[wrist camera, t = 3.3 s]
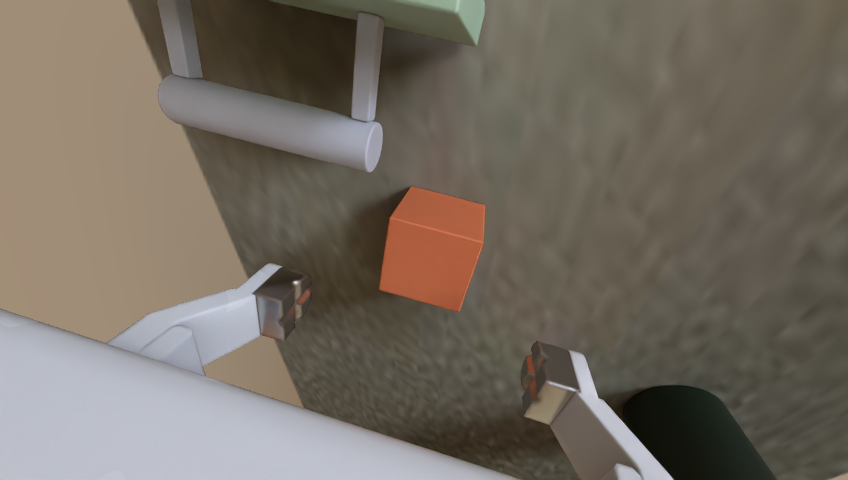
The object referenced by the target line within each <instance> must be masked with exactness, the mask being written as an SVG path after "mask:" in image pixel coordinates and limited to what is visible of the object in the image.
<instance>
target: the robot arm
mask: <svg viewBox="0 0 848 480" xmlns="http://www.w3.org/2000/svg"><path fill="white" fill-rule="evenodd" d="M310 285H311V276H310V275H308V274H305V273H302V272H299V271H296V270H292V269H289V268H286V267H282V266H279V265H276V264H273V263H269V264H266V265H265V266H264V267H263V268H261V269H260V270H259V271H258V272H257V273H256V274H254V275H253V276H252V277H251V278H250V279H248V280H247V281H246V282H245V283H244V284H242V285H241V286H240V287H239V288H238V289H233V288H232V289H228V290H225V291H222V292H218V293H215V294H212V295H209V296H205V297H202V298H199V299H195V300H192V301H189V302H185V303H182V304H179V305H175V306H172V307H169V308H166V309H162V310H159V311H155V312H152V313H149V314H147V315H146V316H144V317H143V318H141V319H140V320H138V321H137V322H136V323H134V324H133V325H131V326H130V327H128V328H127V329H126V330H124V331H123V332H121V333H120V334H118V335H117V336H115V337H114V338H113V339H111V340H110V341H108V342H107V343H103V342H100V341H97V340H94V339H91V338H88V337H85V336H82V335H78V334H76V333H72V332H70V331H67V330H63V329H61V328H57V327H54V326H51V325H48V324H45V323H42V322H39V321H36V320H33V319H30V318H27V317H24V316H21V315H18V314H15V313H12V312H9V311H6V310H3V309H0V480H521V479H518V478H515V477H512V476H509V475H506V474H503V473H500V472H497V471H494V470H491V469H488V468H485V467H482V466H479V465H476V464H473V463H470V462H466V461H463V460H460V459H457V458H454V457H451V456H448V455H445V454H442V453H439V452H436V451H433V450H430V449H427V448H424V447H421V446H417V445H414V444H411V443H408V442H405V441H402V440H399V439H396V438H393V437H390V436H387V435H384V434H381V433H378V432H375V431H372V430H369V429H366V428H362V427H359V426H356V425H353V424H350V423H347V422H344V421H341V420H338V419H335V418H332V417H329V416H326V415H323V414H320V413H317V412H314V411H311V410H307V409H304V408H301V407H298V406H295V405H292V404H289V403H286V402H283V401H280V400H277V399H274V398H271V397H268V396H265V395H262V394H259V393H256V392H252V391H250V390H246V389H243V388H240V387H237V386H234V385H231V384H228V383H225V382H222V381H219V380H216V379H213V378H209V377H207V376H206V375H205V372H204V369H203V366H205V365H207V364H209V363H211V362H213V361H215V360H217V359H218V358H220V357H222V356H224V355H226V354H228V353H230V352H232V351H234V350H235V349H237V348H239V347H241V346H243V345H245V344H247V343H248V342H250V341H252V340H254V339H256V338H258V337H259V336H260V335H263V336H267V337H270V338H274V339H277V340H281V341H284V340H285V339H286V338H287V337H288V335H289V334H290V333H291V332H292V330H293V329H294V328H295V321H296V320H299V319H301V318H303V316H304V315H305V313H306V312H307V310H308V308H309V306H310V302H311V292H310V290H309V289H308V287H309V286H310ZM531 352H532V355H529V356H527V357H526V358H525V360H524V362H523V365H522V369H521V385H522V387H523V388H524V389H525V393H524V395H523V396H522V400H523V410H524V416H525V417H528V418H531V419H534V420H537V421H540V422H543V423H546V424H548V425H550V428H551V429H552V431H553V433H554V435H555V436H556V438H557V440H558V442H559V443H560V445H561V447H562V449H563V450H564V452H565V454H566V456H567V457H568V459H569V461H570V463H571V464H572V466H573V468H574V470H575V471H576V473H577V475H578V477H579V478H580V480H674V479H673V478H672V477H671V476H670V475H669V473H668V472H667V471H666V470H665V469H664V468H663V467H662V466H661V464H660V463H659V462H658V461H657V460H656V459H655V458H654V457H653V455H652V454H651V453H650V452H649V451H648V450H647V449H646V448H645V446H644V445H643V444H642V443H641V442H640V441H639V440H638V439H637V437H636V436H635V435H634V434H633V433H632V432H631V431H630V430H629V428H628V427H627V426H626V425H625V424H624V423H623V422H622V420H621V419H620V418H619V417H618V416H617V415H616V414H615V413H614V411H613V410H612V409H611V408H610V407H609V406H608V405H607V404H606V402H605V401H604V400H601V399H599V398H598V395H597V392H596V389H595V386H594V383H593V380H592V377H591V374H590V371H589V368H588V365H587V362H586V359H585V356H584V355H583V354H582V353H578V352H575V351H571V350H566V349H563V348H560V347H556V346H553V345H549V344H546V343H542V342H538V341H536V342H535V343H534V344H533V346H532V348H531Z"/></svg>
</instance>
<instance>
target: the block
mask: <svg viewBox="0 0 848 480" xmlns="http://www.w3.org/2000/svg"><path fill="white" fill-rule="evenodd" d="M484 220H485V205H483V204H479V203H475V202H471V201H467V200H463V199H460V198H456V197H452V196H448V195H444V194H440V193H436V192H432V191H429V190H425V189H421V188H417V187H413V186H411V187H410V189H409V190H408V192H407V193H406V195H405V196H404V198H403V199H402V200H401V202H400V203H399V205H398V206H397V208H396V209H395V211H394V212H393V214H392V215H391V216H390V218H389V225H388V231H387V238H386V244H385V251H384V258H383V264H382V271H381V277H380V284H379V290H382V291H386V292H389V293H393V294H396V295H400V296H403V297H407V298H410V299H414V300H417V301H421V302H424V303H428V304H431V305H435V306H438V307H442V308H445V309H449V310H452V311H456V312H459V311H460V309H461V306H462V303H463V300H464V297H465V295H466V292H467V289H468V286H469V283H470V280H471V277H472V275H473V272H474V269H475V266H476V263H477V260H478V257H479V255H480V252H481V249H482V246H483V243H484Z"/></svg>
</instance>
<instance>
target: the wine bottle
mask: <svg viewBox="0 0 848 480" xmlns="http://www.w3.org/2000/svg"><path fill="white" fill-rule="evenodd" d="M623 418H624V421H625V424H626V426H627V427H628V428H629V430H630V431H631V432H632V433H633V434H634V435H635V436H636V437H637V439H638V440H639V441H640V442H641V443H642V444H643V445H644V446H645V448H646V449H647V450H648V451H649V452H650V453H651V454H652V455H653V457H654V458H655V459H656V460H657V461H658V462H659V463H660V464H661V466H662V467H663V468H664V469H665V470H666V471H667V472H668V473H669V475H670V476H671V477H672V478H673V479H674V480H777V479H776V478H775V476H774V475H773V474H772V472H771V471H770V469H769V468H768V466H767V465H766V464H765V462H764V461H763V459H762V458H761V456H760V455H759V454H758V452H757V451H756V449H755V448H754V446H753V445H752V444H751V442H750V441H749V439H748V438H747V436H746V435H745V434H744V432H743V431H742V429H741V428H740V426H739V425H738V424H737V422H736V421H735V419H734V418H733V416H732V415H731V413H730V412H729V411H728V409H727V408H726V406H725V405H724V403H723V402H722V401H721V400H720V399H719V398H717V397H716V396H715V395H713V394H711V393H709V392H707V391H704V390H701V389H697V388H692V387H686V386H666V387H659V388H654V389H650V390H647V391H645V392H642V393H640V394H638V395H636V396H635V397H633V398H632V399H631V400H630V401H629V402H628V403H627V404H626V406H625V408H624V411H623Z"/></svg>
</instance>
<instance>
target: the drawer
mask: <svg viewBox="0 0 848 480" xmlns="http://www.w3.org/2000/svg"><path fill="white" fill-rule="evenodd" d="M268 1H273V2H277V3H282V4H286V5H291V6H295V7H300V8H304V9H309V10H313V11H318V12H322V13H327V14H331V15H335V16H340V17H344V18H349V19H353V20H357V31H356V46H355V62H354V78H353V93H352V109H351V116H349V115H345V114H341V113H337V112H333V111H329V110H325V109H320V108H316V107H312V106H308V105H304V104H300V103H296V102H292V101H288V100H284V99H280V98H276V97H272V96H268V95H263V94H259V93H255V92H251V91H247V90H243V89H239V88H235V87H231V86H227V85H223V84H219V83H215V82H211V81H206V80H202V79H198V78H202V77H203V74H202V68H201V62H200V56H199V50H198V44H197V38H196V32H195V26H194V20H193V14H192V8H191V2H190V0H157V2H158V7H159V12H160V17H161V21H162V26H163V31H164V36H165V40H166V45H167V50H168V55H169V59H170V64H171V69H172V73H173V74H171V75H168V76H167V77H165V78H164V79H163V80H162V82H161V83H160V85H159V89H158V100H159V104H160V107H161V109H162V111H163V112H164V114H165V115H166V116H167V117H168V118H169V119H171V120H172V121H174V122H176V123H178V124H182V125H186V126H190V127H193V128H197V129H201V130H205V131H209V132H213V133H217V134H221V135H224V136H228V137H232V138H236V139H240V140H244V141H248V142H252V143H255V144H259V145H263V146H267V147H271V148H275V149H279V150H283V151H286V152H290V153H294V154H298V155H302V156H306V157H310V158H314V159H317V160H321V161H325V162H329V163H333V164H337V165H341V166H345V167H348V168H352V169H356V170H360V171H364V172H368V173H370V172H372V171H373V170H374V169H375V167H376V165H377V163H378V160H379V157H380V153H381V149H382V141H383V132H382V127H381V125H380V124H379V123H377V122H373V121H372V120H374V118H375V109H376V99H377V90H378V80H379V70H380V60H381V51H382V41H383V31H384V26H385V27H389V28H394V29H398V30H403V31H407V32H412V33H416V34H421V35H425V36H430V37H434V38H439V39H443V40H448V41H452V42H457V43H461V44H466V45H470V46H477V43H478V39H479V35H480V31H481V26H482V22H483V18H484V14H485V3H484V0H268Z"/></svg>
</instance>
